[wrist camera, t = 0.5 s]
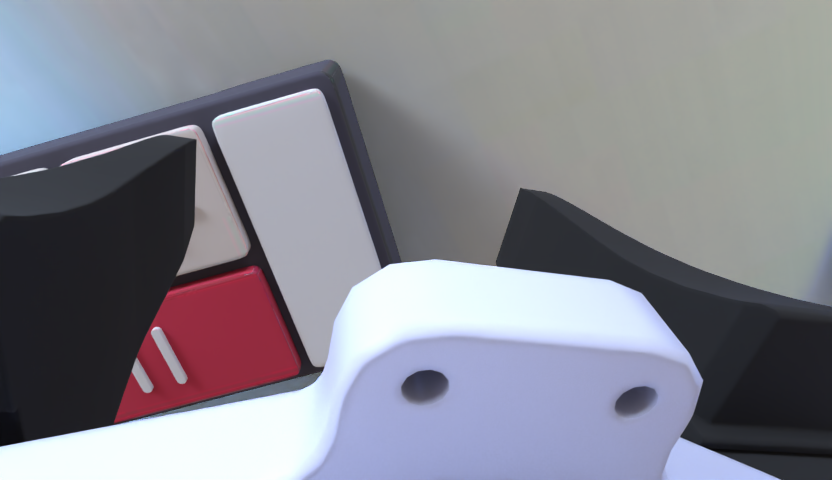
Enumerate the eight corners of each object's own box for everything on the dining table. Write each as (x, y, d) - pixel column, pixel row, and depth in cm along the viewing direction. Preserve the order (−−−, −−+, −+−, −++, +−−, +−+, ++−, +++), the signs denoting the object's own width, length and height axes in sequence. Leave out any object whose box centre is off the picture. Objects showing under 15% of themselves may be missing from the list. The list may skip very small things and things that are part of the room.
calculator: (-128, 201, 18) (328, 70, 17) (-36, 163, 22) (338, 55, 21) (53, 454, 22) (421, 359, 21) (102, 385, 26) (414, 302, 25)
